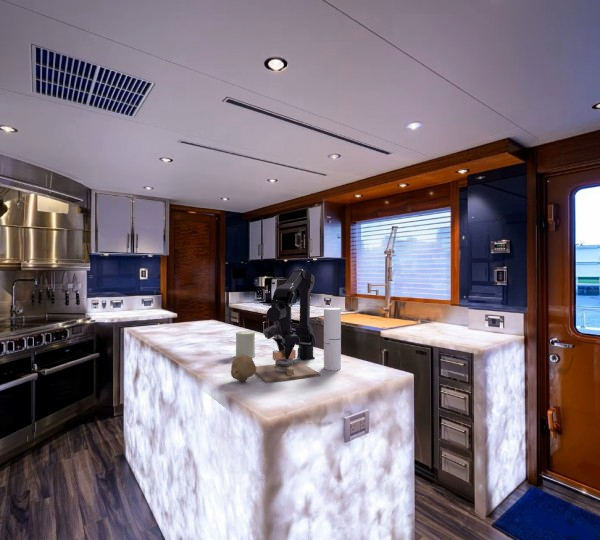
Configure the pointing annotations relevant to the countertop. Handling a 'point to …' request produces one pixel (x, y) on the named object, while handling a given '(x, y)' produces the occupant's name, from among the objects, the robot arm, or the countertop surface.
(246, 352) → the can
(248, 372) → the natural sponge
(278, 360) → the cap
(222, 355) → the countertop surface
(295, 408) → the countertop surface
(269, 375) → the post board
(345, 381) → the countertop surface
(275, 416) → the countertop surface
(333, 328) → the cylindrical container
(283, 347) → the robot arm
